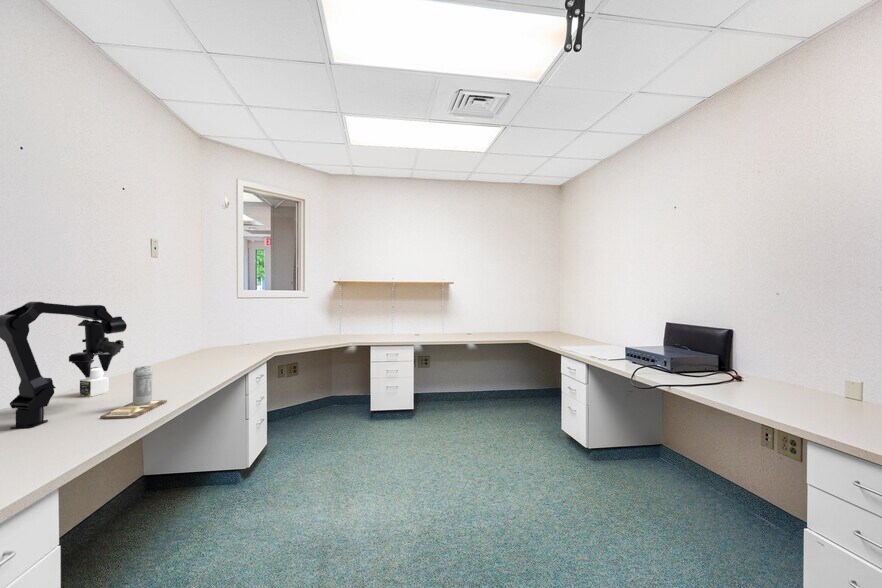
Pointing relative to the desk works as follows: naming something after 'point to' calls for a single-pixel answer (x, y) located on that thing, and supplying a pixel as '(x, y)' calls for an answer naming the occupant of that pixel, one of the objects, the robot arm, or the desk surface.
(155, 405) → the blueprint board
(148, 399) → the energy drink can
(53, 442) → the desk surface
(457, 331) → the desk surface
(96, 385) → the medicine bottle
